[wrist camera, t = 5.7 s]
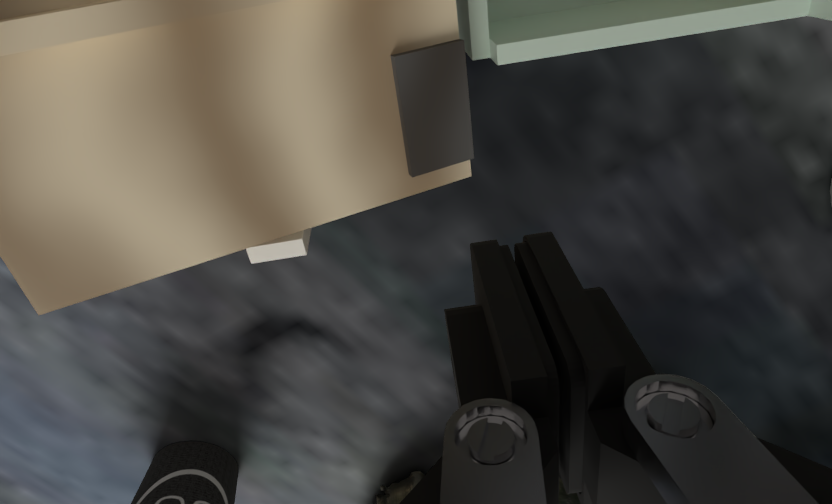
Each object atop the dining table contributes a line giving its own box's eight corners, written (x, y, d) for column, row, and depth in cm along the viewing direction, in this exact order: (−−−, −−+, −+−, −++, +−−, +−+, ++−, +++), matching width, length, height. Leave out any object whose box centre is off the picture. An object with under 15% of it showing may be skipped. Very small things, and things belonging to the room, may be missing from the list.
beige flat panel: (412, -294, 17) (453, -331, 15) (459, 167, 26) (489, 188, 23) (-308, -263, 12) (-410, -313, 10) (43, 298, 21) (31, 340, 18)
